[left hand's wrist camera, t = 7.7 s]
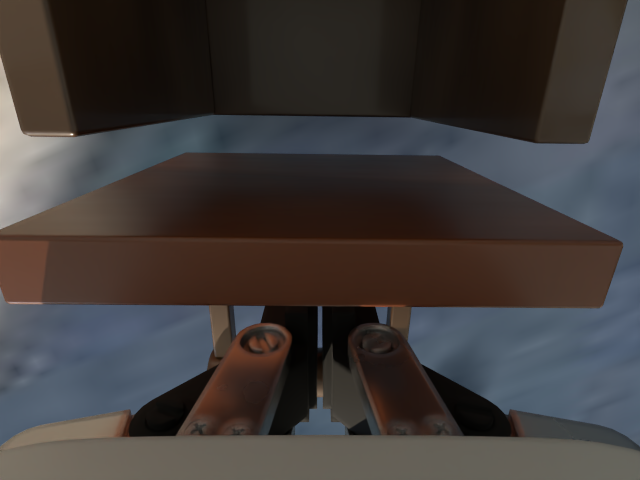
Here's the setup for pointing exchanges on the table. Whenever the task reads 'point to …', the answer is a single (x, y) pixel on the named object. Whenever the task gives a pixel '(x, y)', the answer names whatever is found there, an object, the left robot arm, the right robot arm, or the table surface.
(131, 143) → the table surface
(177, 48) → the drawer
